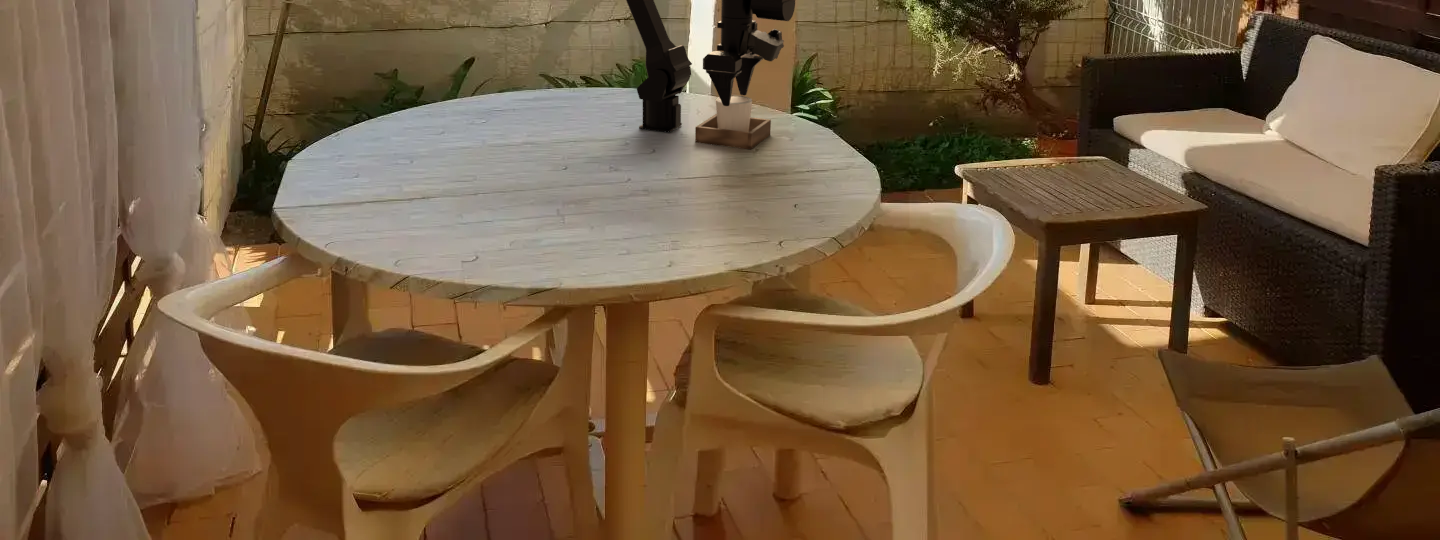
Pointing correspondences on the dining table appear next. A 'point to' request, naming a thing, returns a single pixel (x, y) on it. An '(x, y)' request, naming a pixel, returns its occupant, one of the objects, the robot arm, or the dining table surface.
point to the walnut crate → (732, 133)
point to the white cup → (734, 113)
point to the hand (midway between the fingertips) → (734, 100)
